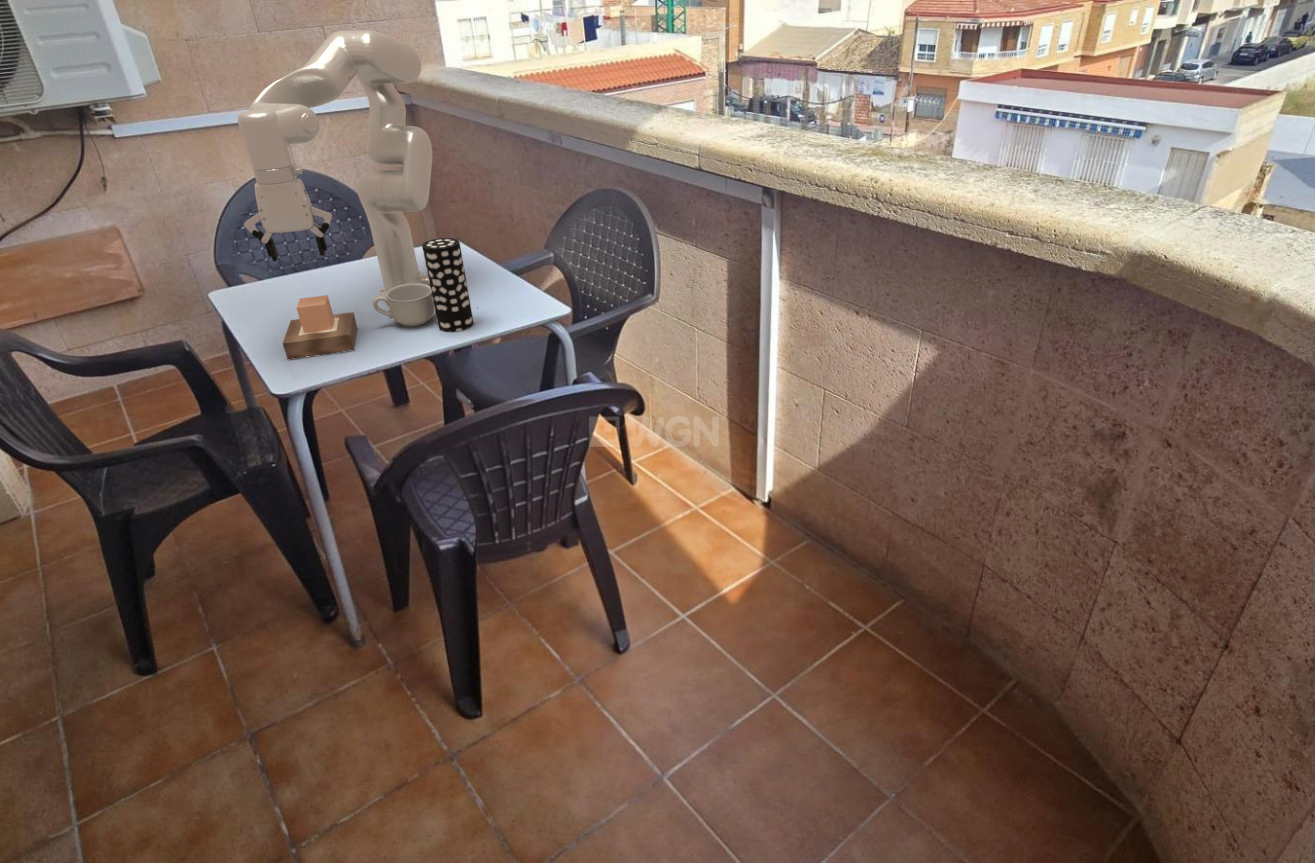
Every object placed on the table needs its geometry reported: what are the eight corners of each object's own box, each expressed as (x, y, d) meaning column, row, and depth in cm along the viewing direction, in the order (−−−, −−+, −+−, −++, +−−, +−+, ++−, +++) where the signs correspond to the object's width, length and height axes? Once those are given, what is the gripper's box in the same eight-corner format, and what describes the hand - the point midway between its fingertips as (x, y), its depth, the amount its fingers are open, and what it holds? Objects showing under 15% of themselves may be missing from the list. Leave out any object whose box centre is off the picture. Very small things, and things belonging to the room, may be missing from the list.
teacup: (439, 311, 184) (433, 281, 180) (436, 328, 175) (429, 296, 171) (382, 316, 182) (375, 286, 178) (376, 333, 173) (368, 302, 169)
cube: (334, 319, 170) (327, 295, 167) (332, 329, 165) (325, 304, 162) (307, 323, 169) (299, 298, 166) (304, 332, 164) (296, 307, 161)
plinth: (357, 327, 176) (353, 311, 174) (354, 350, 165) (349, 333, 163) (295, 335, 173) (290, 319, 171) (287, 359, 162) (282, 342, 159)
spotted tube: (441, 334, 171) (424, 251, 161) (435, 322, 178) (419, 241, 167) (476, 328, 174) (462, 245, 164) (469, 316, 181) (455, 236, 170)
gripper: (321, 168, 155) (342, 247, 164) (233, 175, 151) (259, 256, 160) (318, 175, 149) (340, 257, 158) (225, 183, 145) (253, 267, 154)
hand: (299, 256), depth 159 cm, fingers open, 9 cm apart
